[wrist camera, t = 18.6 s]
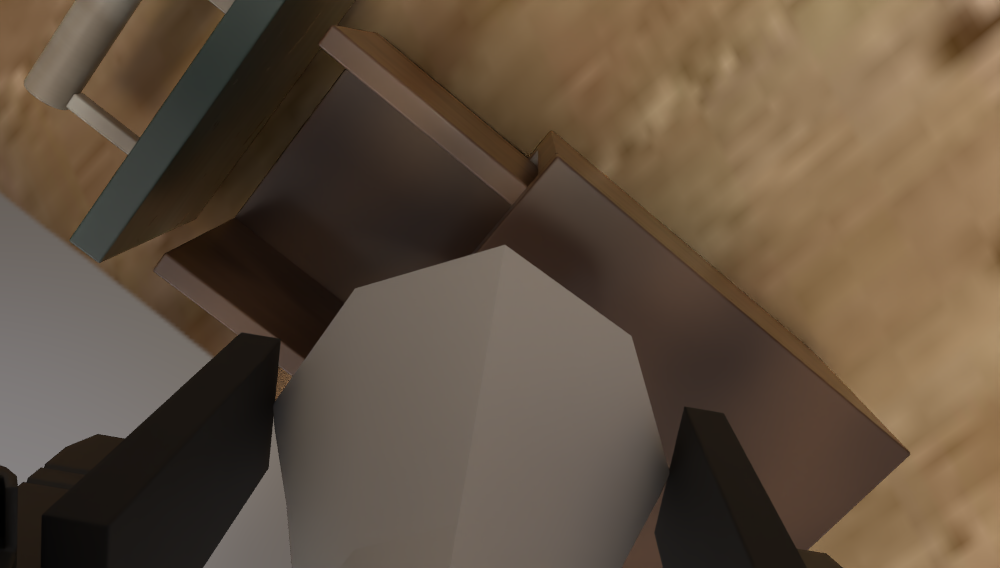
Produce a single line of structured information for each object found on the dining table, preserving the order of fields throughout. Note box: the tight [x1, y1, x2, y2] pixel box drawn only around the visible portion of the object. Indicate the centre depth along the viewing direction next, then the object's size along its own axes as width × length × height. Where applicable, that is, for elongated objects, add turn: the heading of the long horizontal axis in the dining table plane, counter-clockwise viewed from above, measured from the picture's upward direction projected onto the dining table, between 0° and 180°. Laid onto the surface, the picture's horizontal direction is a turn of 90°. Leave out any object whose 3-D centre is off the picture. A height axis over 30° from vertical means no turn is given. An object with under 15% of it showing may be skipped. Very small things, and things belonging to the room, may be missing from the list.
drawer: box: [24, 0, 538, 376], centre depth 30 cm, size 19×12×8 cm, turn 51°
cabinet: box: [471, 131, 910, 568], centre depth 32 cm, size 15×13×10 cm
